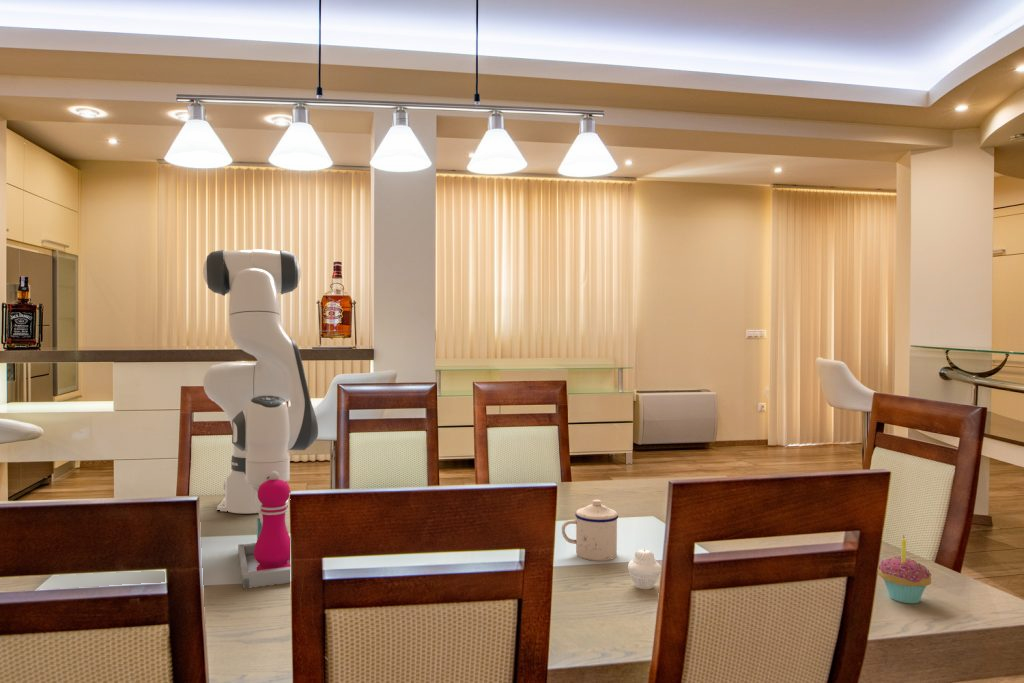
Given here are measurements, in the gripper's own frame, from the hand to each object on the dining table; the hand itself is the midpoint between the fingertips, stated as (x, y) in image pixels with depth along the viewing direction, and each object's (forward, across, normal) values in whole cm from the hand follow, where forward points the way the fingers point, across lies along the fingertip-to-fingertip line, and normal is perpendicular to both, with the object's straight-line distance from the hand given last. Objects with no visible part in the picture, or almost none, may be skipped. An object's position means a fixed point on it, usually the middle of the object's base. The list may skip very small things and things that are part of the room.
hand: (267, 537), depth 145 cm
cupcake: (+3, -71, -103) cm, 125 cm away
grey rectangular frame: (+3, -10, 0) cm, 10 cm away
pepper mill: (+3, -15, 0) cm, 15 cm away
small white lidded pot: (+3, -48, -63) cm, 79 cm away
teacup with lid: (+3, -28, -63) cm, 69 cm away
